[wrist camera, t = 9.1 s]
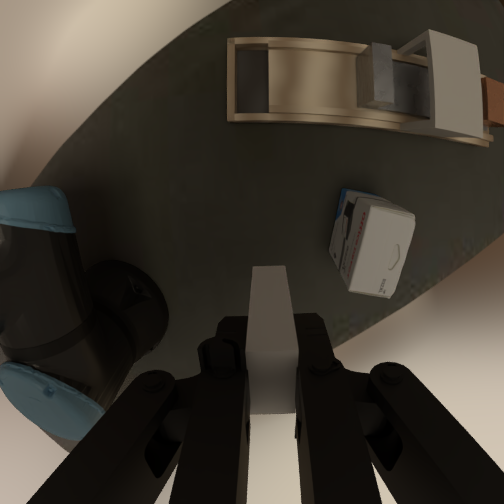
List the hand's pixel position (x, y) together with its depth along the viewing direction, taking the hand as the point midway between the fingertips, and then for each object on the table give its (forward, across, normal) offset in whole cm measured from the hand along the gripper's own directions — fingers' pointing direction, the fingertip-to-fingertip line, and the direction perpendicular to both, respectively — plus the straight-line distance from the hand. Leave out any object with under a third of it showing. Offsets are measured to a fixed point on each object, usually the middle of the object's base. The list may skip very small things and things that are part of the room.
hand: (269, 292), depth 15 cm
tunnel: (+21, +19, +14) cm, 31 cm away
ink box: (+24, +11, -3) cm, 26 cm away
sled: (+20, +20, +14) cm, 31 cm away
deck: (+24, +13, +14) cm, 31 cm away
